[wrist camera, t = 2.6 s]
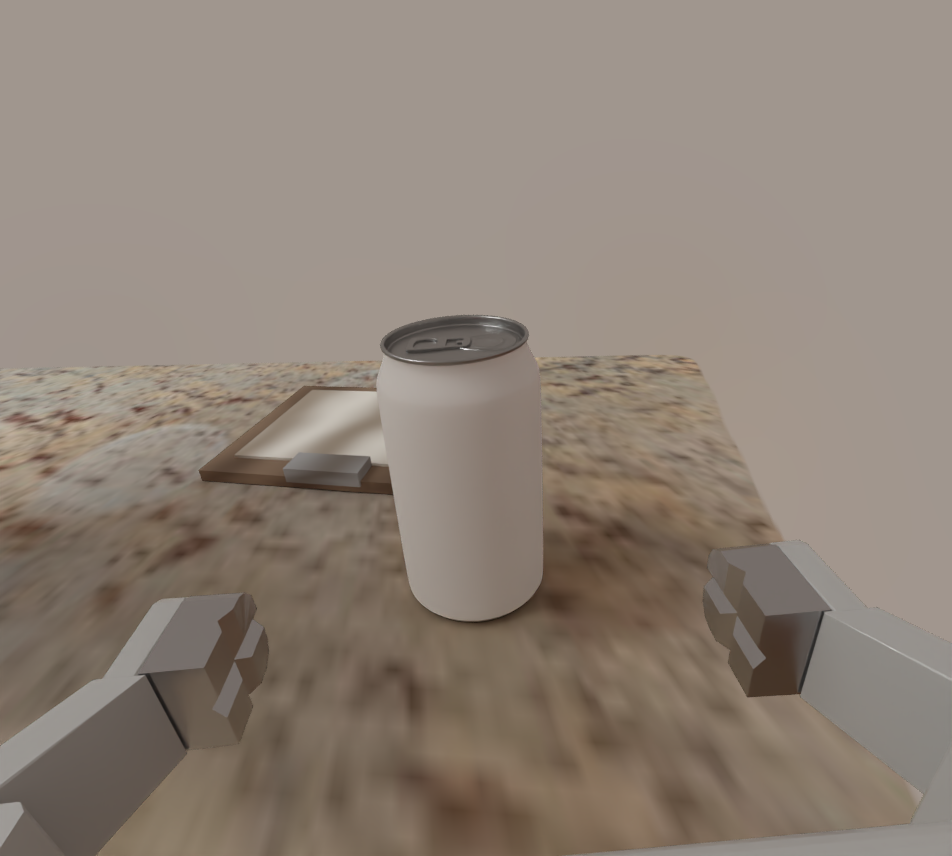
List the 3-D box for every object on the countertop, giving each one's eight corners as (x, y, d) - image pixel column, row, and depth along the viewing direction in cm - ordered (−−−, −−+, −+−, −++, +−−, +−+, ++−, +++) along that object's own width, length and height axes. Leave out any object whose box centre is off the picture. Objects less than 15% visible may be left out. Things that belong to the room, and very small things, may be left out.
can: (548, 627, 22) (546, 361, 17) (398, 629, 23) (348, 370, 17) (539, 531, 28) (535, 307, 23) (419, 533, 29) (387, 315, 23)
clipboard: (200, 482, 35) (193, 462, 34) (305, 394, 47) (302, 378, 47) (464, 501, 31) (462, 480, 30) (505, 400, 43) (504, 383, 43)
